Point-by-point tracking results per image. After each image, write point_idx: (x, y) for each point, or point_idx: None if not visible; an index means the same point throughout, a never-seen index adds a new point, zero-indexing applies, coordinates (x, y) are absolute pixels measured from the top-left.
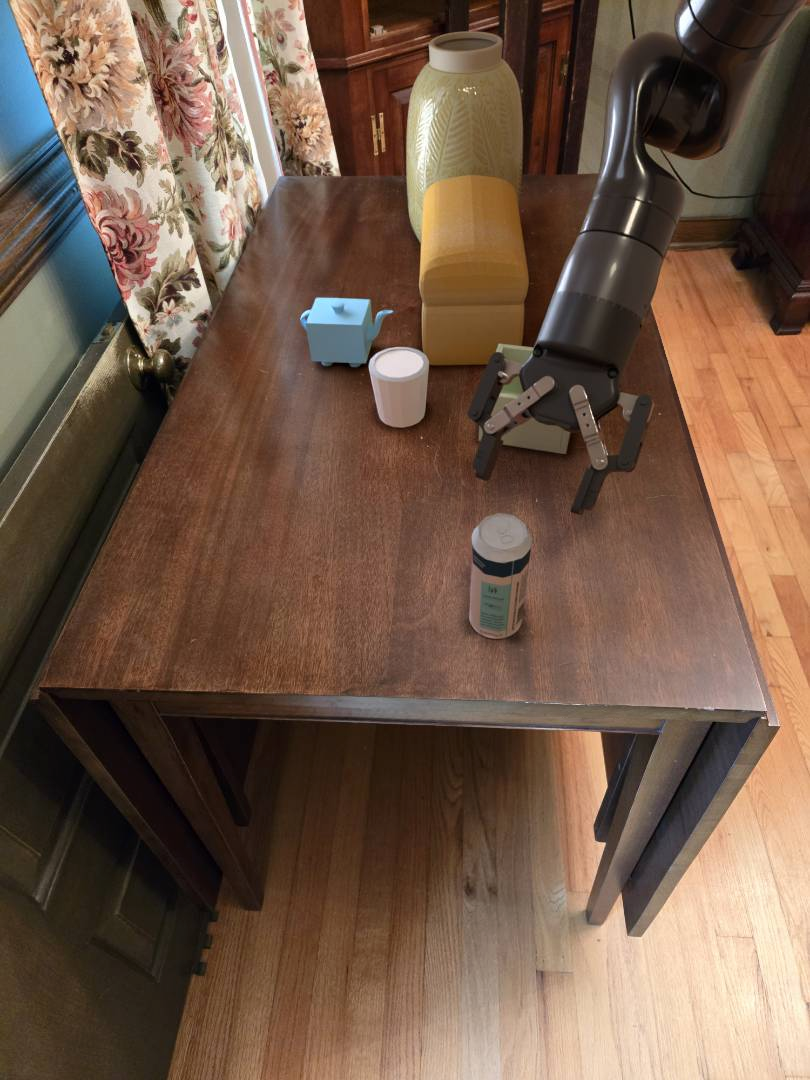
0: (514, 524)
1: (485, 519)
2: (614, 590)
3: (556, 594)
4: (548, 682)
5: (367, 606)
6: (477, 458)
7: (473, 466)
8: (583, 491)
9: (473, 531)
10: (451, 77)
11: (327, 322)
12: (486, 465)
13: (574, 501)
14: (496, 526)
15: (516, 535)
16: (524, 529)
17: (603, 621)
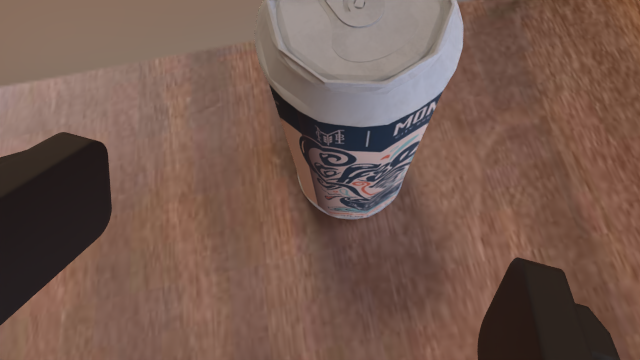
0: (320, 49)
1: (435, 48)
2: (114, 301)
3: (235, 263)
4: (236, 67)
5: (614, 145)
6: (599, 350)
7: (592, 314)
8: (7, 169)
9: (462, 34)
10: None
11: None
12: (530, 296)
13: (71, 151)
14: (385, 23)
15: (304, 2)
16: (280, 39)
17: (140, 215)
